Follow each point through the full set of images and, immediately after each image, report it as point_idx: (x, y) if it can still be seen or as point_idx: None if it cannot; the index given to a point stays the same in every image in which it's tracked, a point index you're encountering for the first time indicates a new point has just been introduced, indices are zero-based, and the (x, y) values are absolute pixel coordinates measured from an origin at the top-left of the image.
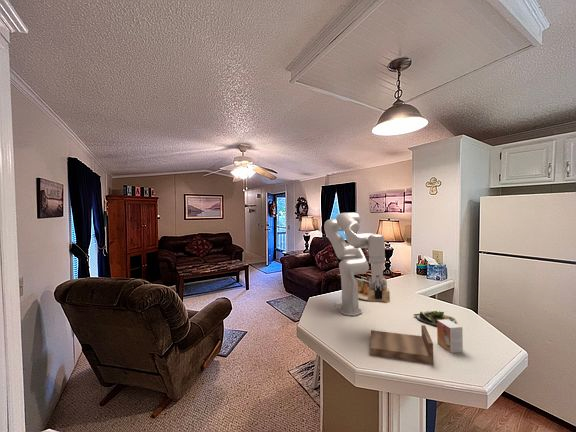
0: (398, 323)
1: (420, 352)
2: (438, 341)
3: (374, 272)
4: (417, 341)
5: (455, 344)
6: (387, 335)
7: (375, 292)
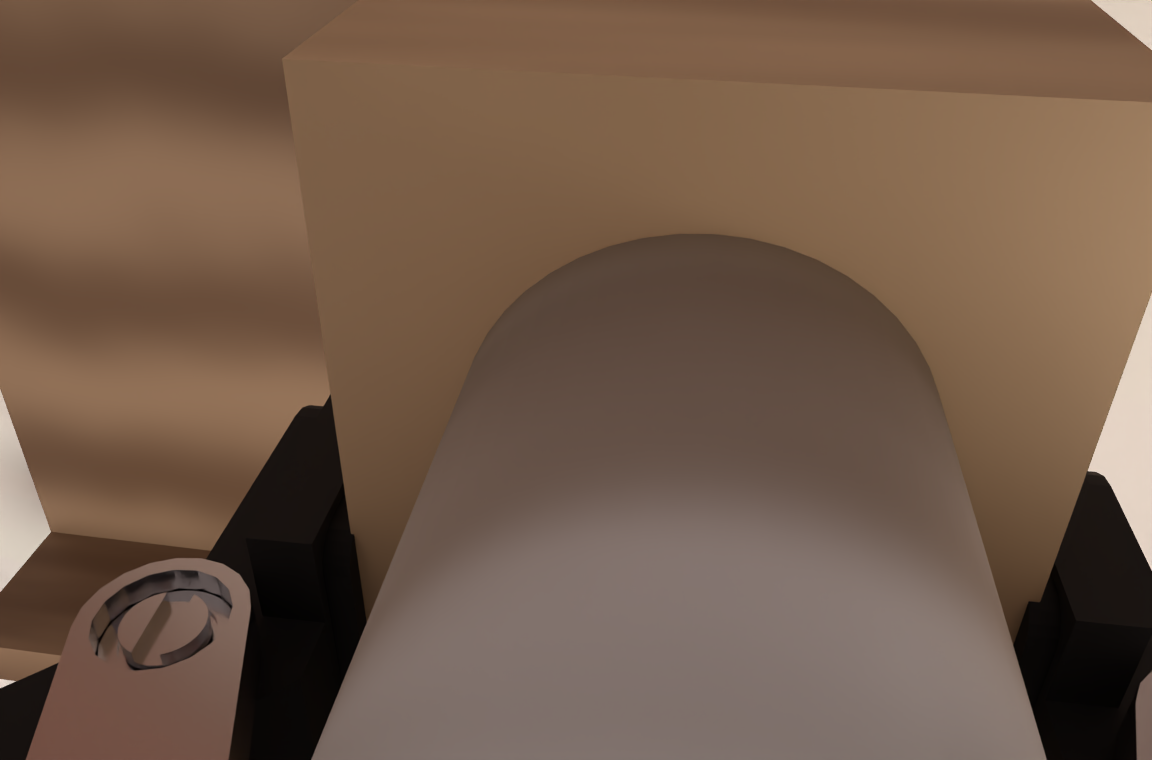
0: (1142, 383)
1: (80, 477)
2: None
3: None
4: None
5: None
6: None
7: (301, 483)
